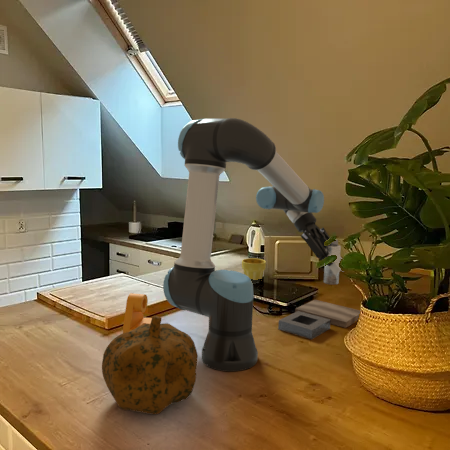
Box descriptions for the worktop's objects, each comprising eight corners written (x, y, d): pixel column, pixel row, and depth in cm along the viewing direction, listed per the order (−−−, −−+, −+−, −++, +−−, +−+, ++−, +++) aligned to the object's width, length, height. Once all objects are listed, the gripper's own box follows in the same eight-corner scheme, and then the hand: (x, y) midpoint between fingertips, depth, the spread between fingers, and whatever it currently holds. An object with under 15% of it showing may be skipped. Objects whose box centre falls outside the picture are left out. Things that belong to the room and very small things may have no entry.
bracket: (145, 340, 133) (145, 301, 132) (123, 337, 135) (122, 298, 133) (158, 326, 144) (158, 290, 142) (137, 324, 145) (136, 288, 143)
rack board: (345, 328, 146) (346, 322, 146) (295, 314, 158) (295, 308, 158) (363, 317, 157) (363, 311, 157) (314, 304, 169) (314, 299, 169)
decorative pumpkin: (107, 374, 110) (113, 296, 106) (193, 380, 112) (201, 304, 108) (88, 426, 90) (94, 333, 87) (193, 432, 92) (203, 341, 88)
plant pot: (256, 287, 190) (257, 264, 188) (236, 282, 196) (237, 260, 194) (269, 282, 198) (270, 260, 196) (249, 278, 204) (250, 257, 202)
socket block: (311, 339, 136) (312, 330, 136) (278, 329, 144) (278, 320, 143) (330, 328, 145) (330, 319, 145) (297, 319, 153) (298, 311, 152)
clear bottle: (334, 285, 152) (337, 241, 150) (321, 282, 156) (323, 239, 153) (341, 282, 156) (343, 239, 154) (327, 279, 159) (330, 237, 157)
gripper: (307, 221, 170) (345, 272, 162) (281, 227, 156) (321, 282, 148) (321, 209, 165) (360, 260, 157) (295, 213, 152) (337, 269, 144)
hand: (341, 270), depth 153 cm, fingers closed on clear bottle, 5 cm apart
